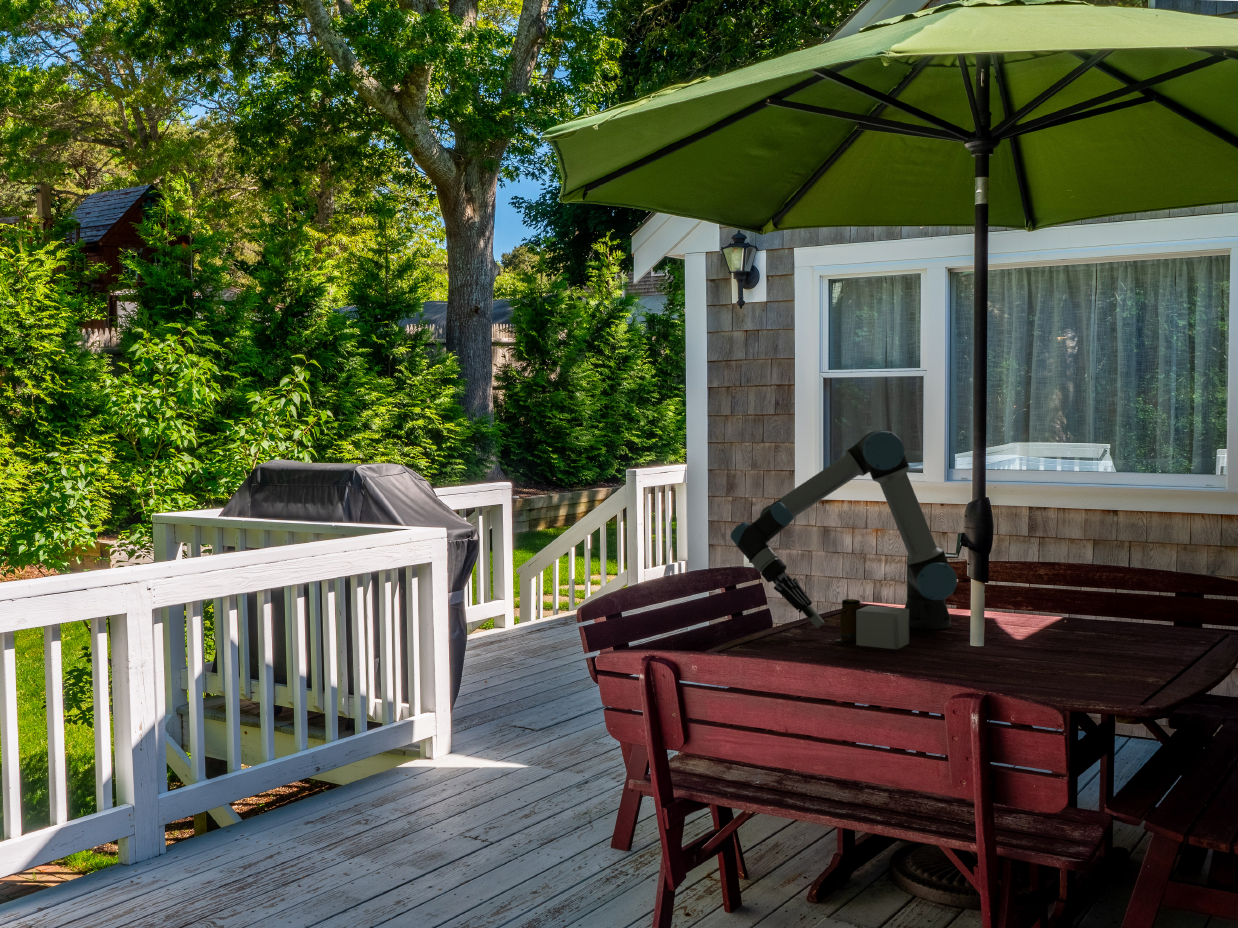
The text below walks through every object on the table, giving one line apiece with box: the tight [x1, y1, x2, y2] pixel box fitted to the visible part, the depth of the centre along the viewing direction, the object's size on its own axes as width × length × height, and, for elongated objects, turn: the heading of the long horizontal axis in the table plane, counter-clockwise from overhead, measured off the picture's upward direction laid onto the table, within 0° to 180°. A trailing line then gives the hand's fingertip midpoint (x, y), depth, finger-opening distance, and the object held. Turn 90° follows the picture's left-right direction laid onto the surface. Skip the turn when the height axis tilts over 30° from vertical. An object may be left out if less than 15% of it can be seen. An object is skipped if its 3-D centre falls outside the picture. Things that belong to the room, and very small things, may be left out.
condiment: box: [835, 598, 861, 644], centre depth 307 cm, size 7×8×12 cm
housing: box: [855, 605, 910, 650], centre depth 302 cm, size 12×10×10 cm
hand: (820, 624), depth 312 cm, fingers closed
